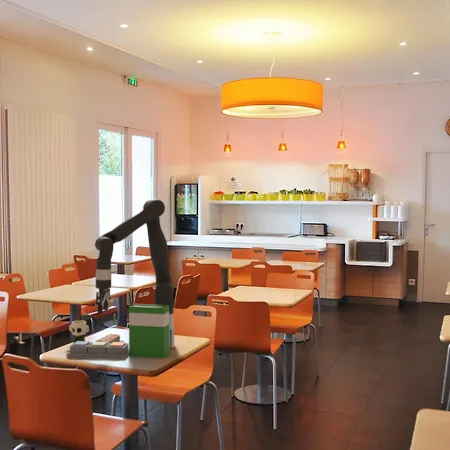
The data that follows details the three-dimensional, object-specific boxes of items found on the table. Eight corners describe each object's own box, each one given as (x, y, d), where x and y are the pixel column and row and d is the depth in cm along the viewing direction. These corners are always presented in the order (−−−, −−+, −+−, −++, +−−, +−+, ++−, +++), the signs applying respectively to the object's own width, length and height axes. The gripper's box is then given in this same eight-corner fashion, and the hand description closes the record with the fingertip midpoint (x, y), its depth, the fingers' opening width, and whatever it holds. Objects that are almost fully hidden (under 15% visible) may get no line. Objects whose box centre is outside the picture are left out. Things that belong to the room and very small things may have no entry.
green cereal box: (129, 356, 281) (128, 306, 280) (135, 352, 288) (134, 303, 287) (164, 358, 277) (164, 307, 276) (169, 354, 284) (169, 305, 283)
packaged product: (106, 332, 312) (123, 333, 309) (106, 341, 312) (123, 343, 309) (90, 340, 294) (108, 341, 292) (90, 350, 295) (108, 351, 292)
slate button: (89, 345, 286) (89, 341, 286) (85, 348, 280) (85, 344, 280) (77, 345, 287) (77, 341, 287) (73, 348, 281) (73, 344, 281)
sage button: (107, 345, 285) (107, 341, 285) (103, 348, 280) (103, 344, 279) (95, 345, 286) (95, 341, 286) (91, 348, 280) (91, 344, 280)
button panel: (131, 352, 288) (131, 342, 287) (124, 359, 276) (124, 348, 275) (75, 351, 290) (75, 341, 290) (66, 357, 278) (66, 347, 278)
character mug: (65, 348, 296) (65, 322, 296) (73, 344, 303) (72, 319, 303) (85, 349, 293) (85, 323, 293) (92, 346, 300) (92, 321, 300)
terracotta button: (125, 346, 285) (125, 342, 285) (122, 349, 279) (122, 345, 279) (113, 346, 285) (113, 341, 285) (109, 349, 279) (109, 344, 279)
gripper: (106, 280, 277) (105, 314, 277) (115, 276, 291) (114, 309, 291) (91, 279, 277) (90, 313, 278) (100, 276, 292) (100, 308, 292)
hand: (102, 311), depth 285 cm, fingers open, 8 cm apart
